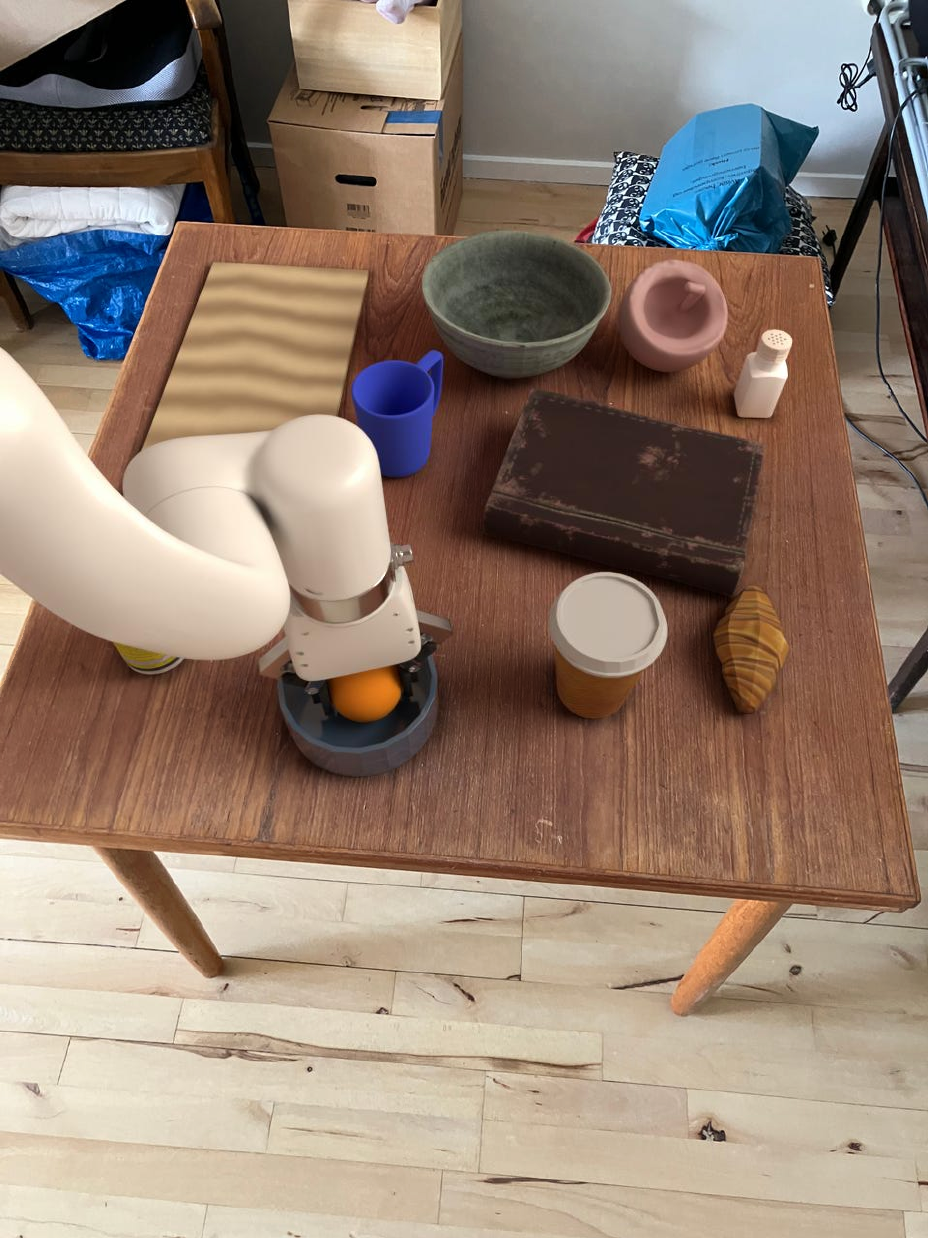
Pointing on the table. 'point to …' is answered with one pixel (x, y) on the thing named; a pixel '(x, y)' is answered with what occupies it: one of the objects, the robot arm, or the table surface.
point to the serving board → (261, 350)
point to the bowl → (515, 301)
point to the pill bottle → (147, 660)
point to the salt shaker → (763, 376)
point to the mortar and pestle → (672, 315)
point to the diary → (627, 491)
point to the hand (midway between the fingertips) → (366, 690)
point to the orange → (366, 693)
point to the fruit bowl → (362, 728)
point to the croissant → (750, 648)
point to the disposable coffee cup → (604, 640)
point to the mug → (399, 410)
